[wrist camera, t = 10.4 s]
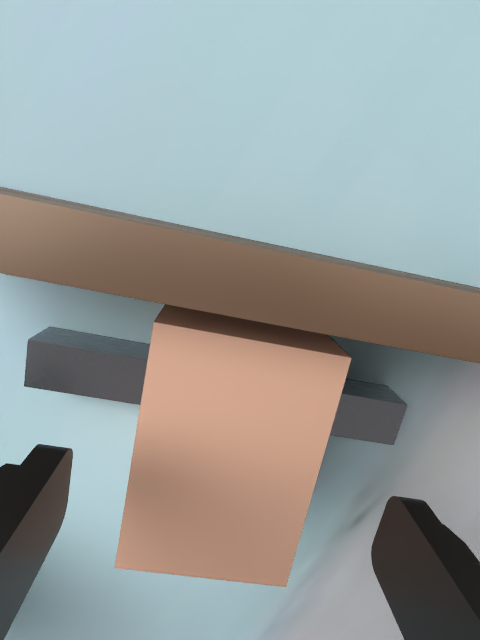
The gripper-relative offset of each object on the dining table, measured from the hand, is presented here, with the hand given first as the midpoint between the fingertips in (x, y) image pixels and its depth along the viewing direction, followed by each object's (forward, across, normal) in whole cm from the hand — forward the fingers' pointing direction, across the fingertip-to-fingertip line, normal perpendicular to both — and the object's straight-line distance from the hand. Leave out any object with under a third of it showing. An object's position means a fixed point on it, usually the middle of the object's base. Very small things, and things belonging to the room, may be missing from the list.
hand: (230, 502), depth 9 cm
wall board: (+9, 0, -5) cm, 10 cm away
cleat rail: (+9, 0, 0) cm, 9 cm away
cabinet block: (+9, 0, 0) cm, 9 cm away
